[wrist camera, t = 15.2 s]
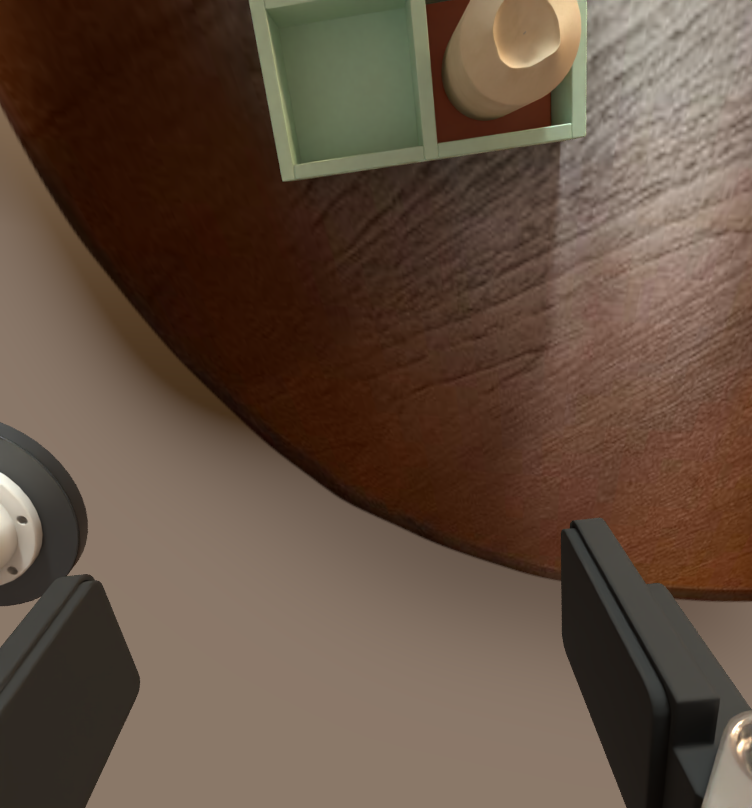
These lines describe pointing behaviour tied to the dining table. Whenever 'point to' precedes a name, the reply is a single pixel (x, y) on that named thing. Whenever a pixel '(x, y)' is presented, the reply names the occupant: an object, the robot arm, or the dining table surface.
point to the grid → (386, 87)
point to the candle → (509, 54)
